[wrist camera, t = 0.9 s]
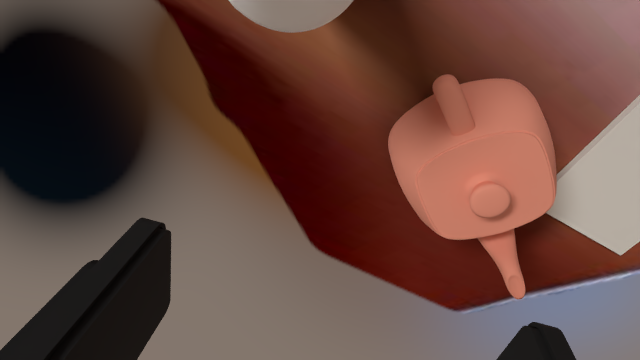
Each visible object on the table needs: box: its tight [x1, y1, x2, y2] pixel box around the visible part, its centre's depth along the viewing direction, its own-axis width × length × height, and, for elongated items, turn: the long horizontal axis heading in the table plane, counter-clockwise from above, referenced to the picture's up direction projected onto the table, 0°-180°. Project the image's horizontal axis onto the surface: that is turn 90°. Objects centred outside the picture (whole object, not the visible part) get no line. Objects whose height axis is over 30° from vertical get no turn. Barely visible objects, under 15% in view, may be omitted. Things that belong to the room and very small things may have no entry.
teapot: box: [388, 74, 557, 299], centre depth 32 cm, size 13×20×12 cm
